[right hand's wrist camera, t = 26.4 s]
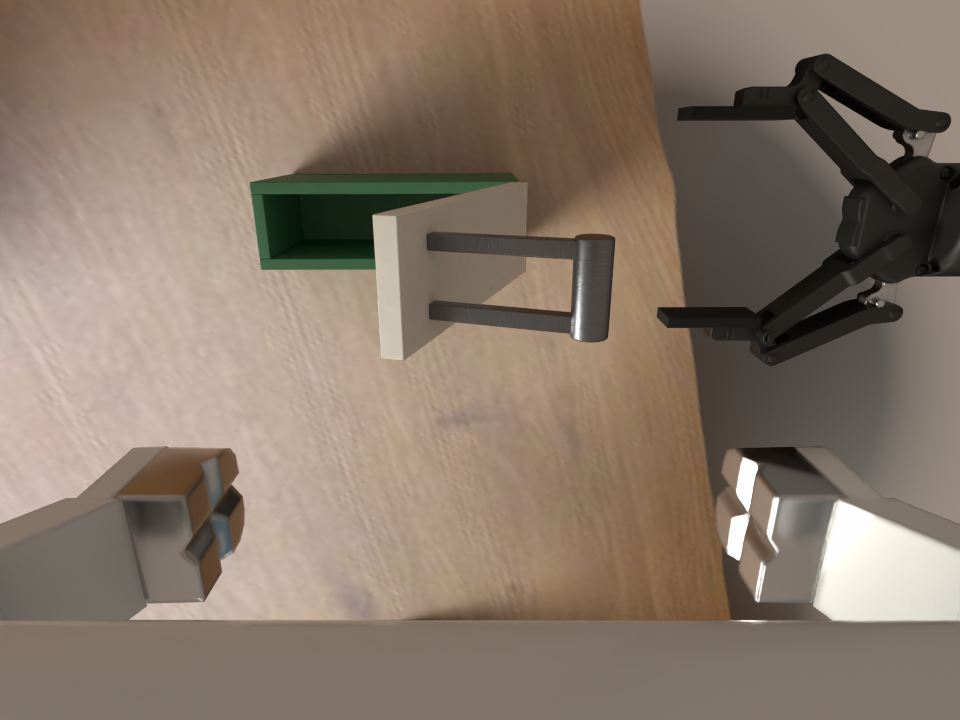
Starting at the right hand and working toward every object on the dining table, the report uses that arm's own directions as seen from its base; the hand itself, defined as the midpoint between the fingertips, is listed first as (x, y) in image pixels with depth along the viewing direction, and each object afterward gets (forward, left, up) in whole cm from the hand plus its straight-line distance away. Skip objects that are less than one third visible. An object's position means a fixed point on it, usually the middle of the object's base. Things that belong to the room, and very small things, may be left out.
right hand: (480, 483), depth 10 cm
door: (-1, -1, -22) cm, 22 cm away
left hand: (+9, +10, -33) cm, 36 cm away
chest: (-4, -4, -40) cm, 40 cm away
